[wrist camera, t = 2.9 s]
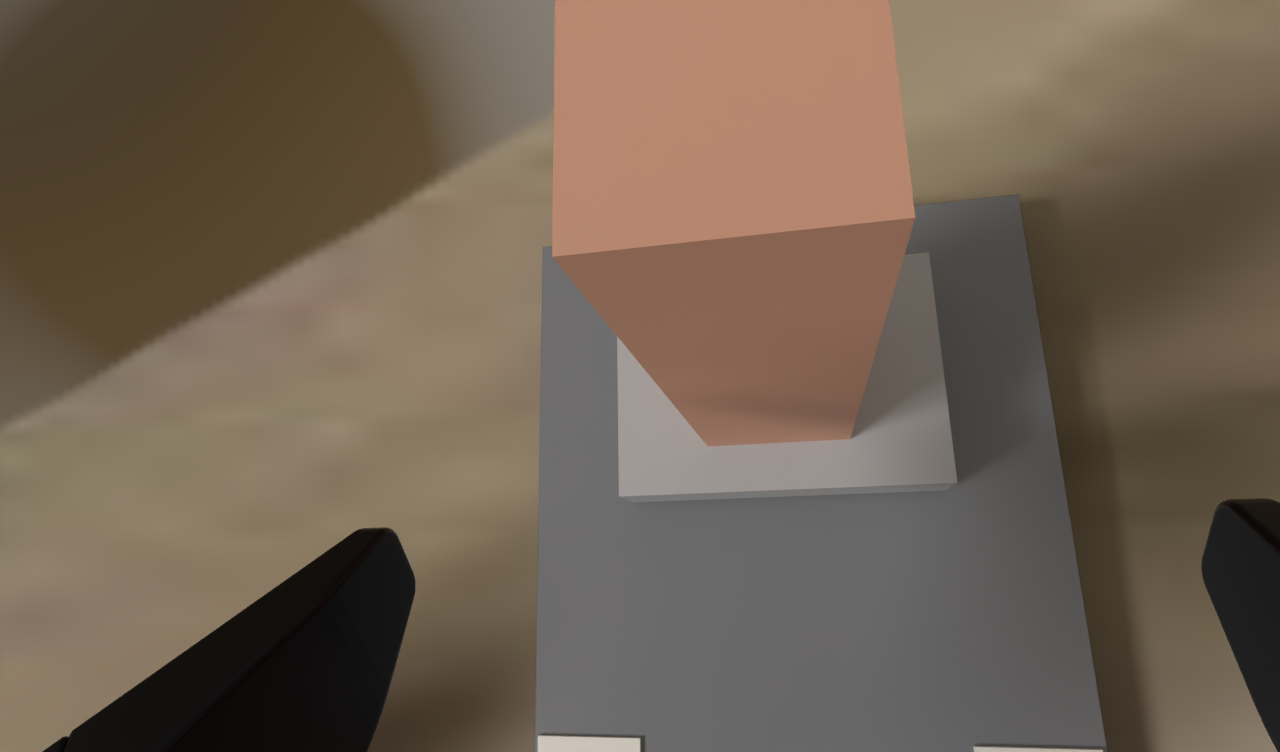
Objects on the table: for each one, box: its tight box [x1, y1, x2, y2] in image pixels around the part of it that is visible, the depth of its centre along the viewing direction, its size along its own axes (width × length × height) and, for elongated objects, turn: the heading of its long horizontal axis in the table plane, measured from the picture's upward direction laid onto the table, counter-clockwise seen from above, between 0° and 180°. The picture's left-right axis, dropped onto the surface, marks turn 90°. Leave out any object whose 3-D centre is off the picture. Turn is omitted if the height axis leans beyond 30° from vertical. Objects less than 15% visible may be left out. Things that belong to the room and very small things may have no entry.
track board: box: [535, 194, 1107, 752], centre depth 18 cm, size 14×12×1 cm
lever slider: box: [552, 0, 957, 502], centre depth 12 cm, size 5×7×12 cm
